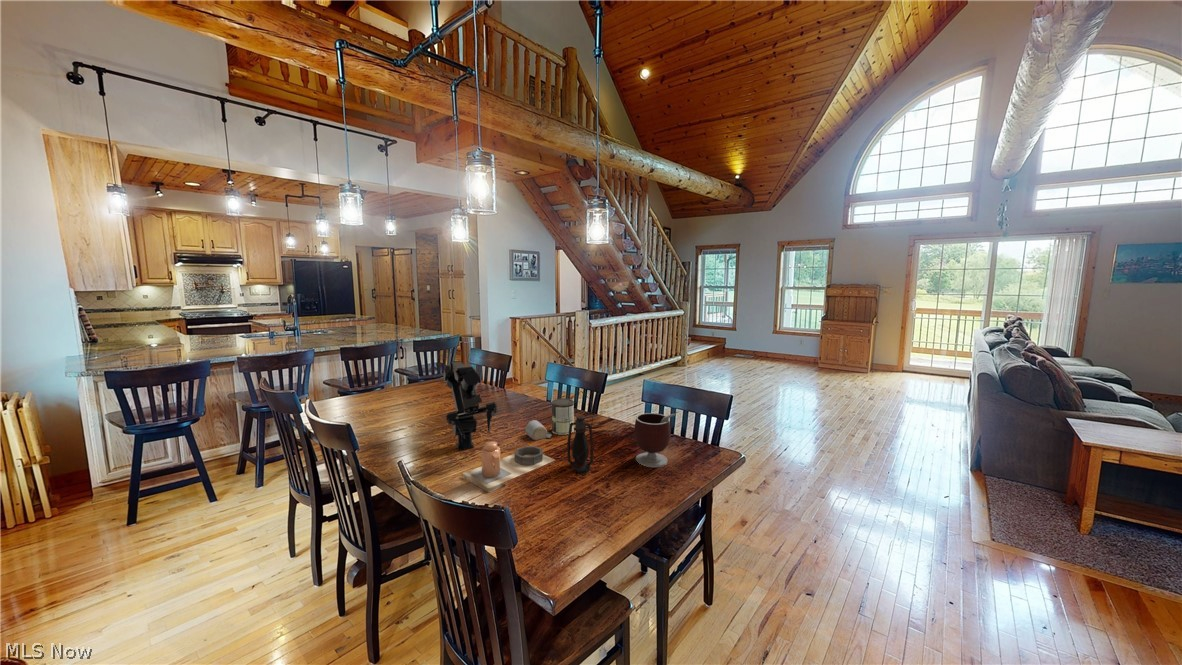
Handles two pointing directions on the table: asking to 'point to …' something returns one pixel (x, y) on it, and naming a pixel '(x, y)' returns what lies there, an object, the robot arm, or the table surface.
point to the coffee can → (562, 416)
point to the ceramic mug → (536, 430)
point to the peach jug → (490, 459)
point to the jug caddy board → (510, 468)
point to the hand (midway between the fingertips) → (476, 434)
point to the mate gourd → (652, 438)
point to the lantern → (580, 444)
